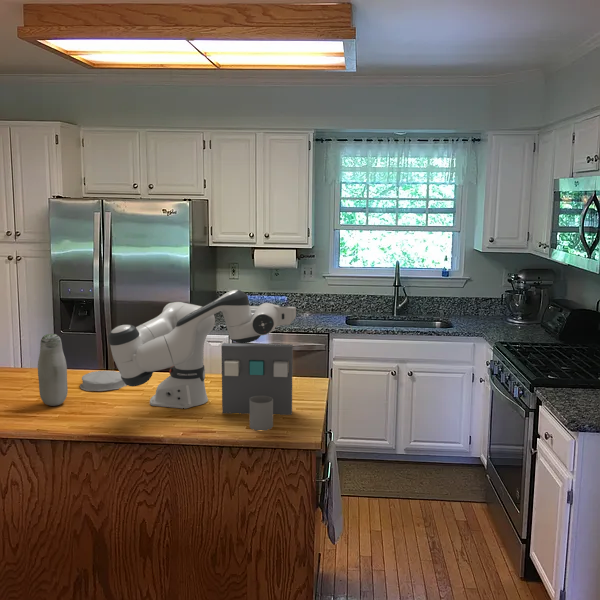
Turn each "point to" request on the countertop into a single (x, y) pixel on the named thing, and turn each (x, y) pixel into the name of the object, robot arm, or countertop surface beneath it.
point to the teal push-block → (256, 367)
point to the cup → (261, 412)
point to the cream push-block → (232, 367)
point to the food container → (102, 381)
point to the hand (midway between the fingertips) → (270, 308)
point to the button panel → (256, 377)
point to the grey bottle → (52, 371)
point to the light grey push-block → (280, 368)
